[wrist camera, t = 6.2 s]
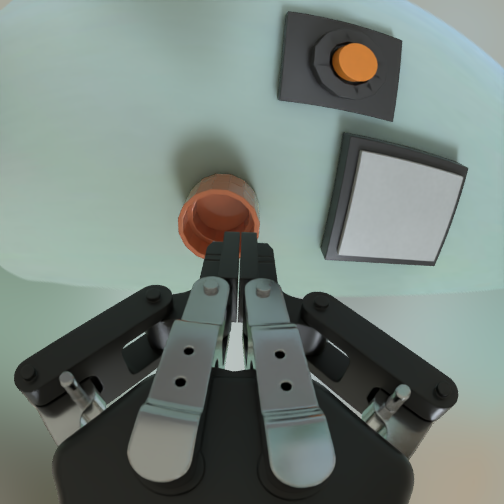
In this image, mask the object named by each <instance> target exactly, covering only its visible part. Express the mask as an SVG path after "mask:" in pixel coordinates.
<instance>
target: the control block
mask: <svg viewBox="0 0 504 504" xmlns="http://www.w3.org/2000/svg"><path fill="white" fill-rule="evenodd" d="M351 43H358V44H362V45H364V46H366V47H368V48H369V49H370V50H371V51H372V52H373V53H374V55H375V57H376V59H377V65H378V66H377V71H376V73H375V75H374V76H373V77H372V78H371V79H369V80H367V81H356V82H352V81H347V80H345V79H343V78H341V77H340V76H339V75H338V74H337V73H336V71H335V70H334V67H333V64H332V58H333V55H334V53H335V52H336V50H338V49H339V48H341V47H343V46H345V45H348V44H351ZM401 50H402V40H399V39H397V38H394V37H391V36H389V35H386V34H383V33H380V32H377V31H374V30H371V29H367V28H364V27H361V26H357V25H353V24H350V23H346V22H342V21H338V20H334V19H329V18H324V17H320V16H314V15H309V14H303V13H297V12H290V11H288V12H287V14H286V18H285V29H284V40H283V51H282V61H281V72H280V82H279V93H278V100H280V101H289V102H297V103H304V104H311V105H317V106H323V107H329V108H334V109H339V110H344V111H349V112H354V113H358V114H363V115H367V116H371V117H375V118H379V119H383V120H387V121H391V122H393V118H394V111H395V105H396V98H397V90H398V82H399V73H400V63H401Z"/></svg>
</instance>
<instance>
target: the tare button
mask: <svg viewBox="0 0 504 504" xmlns="http://www.w3.org/2000/svg"><path fill="white" fill-rule="evenodd" d="M332 64H333V67H334V70H335V71H336V73H337V74H338V75H339V76H340V77H341V78H343V79H345V80H347V81H352V82H356V81H367V80H369V79H371V78H372V77H373V76H374V75H375V73H376V71H377V66H378V65H377V59H376V57H375V55H374V53H373V52H372V51H371V50H370V49H369V48H368V47H366V46H364V45H362V44H358V43H351V44H348V45H345V46H343V47H341V48H339V49H338V50H336V52H335V53H334V55H333V58H332Z"/></svg>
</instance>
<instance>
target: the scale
mask: <svg viewBox="0 0 504 504" xmlns="http://www.w3.org/2000/svg"><path fill="white" fill-rule="evenodd" d="M467 171H468V168H467V167H465V166H463V165H462V164H460V163H458V162H455V161H452V160H449V159H446V158H443V157H440V156H437V155H434V154H430V153H427V152H424V151H420V150H417V149H413V148H410V147H406V146H402V145H399V144H395V143H391V142H387V141H383V140H378V139H374V138H369V137H365V136H360V135H355V134H350V133H345V132H344V133H343V139H342V145H341V151H340V157H339V163H338V168H337V174H336V179H335V185H334V190H333V195H332V200H331V205H330V210H329V214H328V219H327V224H326V228H325V233H324V237H323V242H322V246H321V251H322V253H323V256H324V258H325V260H339V261H356V262H373V263H390V264H407V265H424V266H435V263H436V261H437V259H438V256H439V254H440V252H441V249H442V247H443V244H444V242H445V239H446V236H447V234H448V231H449V228H450V226H451V223H452V220H453V217H454V214H455V211H456V208H457V205H458V202H459V199H460V196H461V193H462V189H463V186H464V182H465V179H466V175H467Z"/></svg>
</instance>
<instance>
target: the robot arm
mask: <svg viewBox="0 0 504 504" xmlns="http://www.w3.org/2000/svg"><path fill="white" fill-rule="evenodd" d="M239 246H240V232H229V231H225V232H224V238H223V242H219V241H213V242H212V243H211V244H210V245H209V246H208V247H207V249H206V254H205V258H204V262H203V267H202V271H201V276H200V279H199V280H197V281H196V282H195V283H194V285H193V287H192V290H190V291H187V292H184V293H179V294H173V295H172V292H171V291H170V289H168V288H167V287H165V286H162V285H151V286H147V287H145V288H143V289H141V290H140V291H138V292H136V293H134V294H133V295H131V296H129V297H128V298H126V299H124V300H123V301H121V302H119V303H118V304H116V305H114V306H113V307H111V308H109V309H107V310H106V311H104V312H103V313H101V314H99V315H97V316H96V317H94V318H92V319H91V320H89V321H87V322H86V323H84V324H82V325H81V326H79V327H77V328H76V329H74V330H73V331H71V332H69V333H68V334H66V335H65V336H63V337H61V338H60V339H58V340H56V341H55V342H53V343H51V344H50V345H48V346H47V347H45V348H43V349H42V350H40V351H39V352H37V353H35V354H34V355H32V356H31V357H29V358H27V359H26V360H25V361H23V362H22V363H21V364H20V365H19V366H18V367H17V369H16V371H15V374H14V381H15V385H16V386H17V388H18V389H19V390H20V391H21V392H22V393H23V394H24V395H25V397H26V398H27V399H28V401H29V402H30V403H31V404H32V405H33V406H34V407H35V408H36V409H37V410H38V412H39V414H40V416H41V418H42V420H43V422H44V424H45V426H46V427H47V429H48V431H49V433H50V435H51V436H52V438H53V439H54V441H55V443H56V445H57V446H58V448H57V450H56V452H55V455H54V457H53V461H52V474H53V478H54V482H55V486H56V489H57V494H58V499H59V504H408V503H409V500H410V497H411V494H412V491H413V486H414V473H413V469H412V466H411V464H410V462H409V459H410V458H411V456H412V455H413V454H414V452H415V451H416V449H417V448H418V446H419V445H420V443H421V442H422V440H423V439H424V437H425V435H426V434H427V432H428V431H429V429H430V427H431V426H432V424H433V423H435V422H436V421H437V420H438V419H439V418H440V417H441V416H443V415H444V414H445V413H446V412H447V411H448V410H449V409H450V408H451V407H452V406H453V405H454V404H455V403H456V402H457V399H458V390H457V387H456V385H455V383H454V382H453V381H452V379H450V378H449V377H448V376H446V375H445V374H443V373H442V372H440V371H439V370H438V369H436V368H435V367H433V366H432V365H430V364H429V363H428V362H426V361H425V360H423V359H422V358H421V357H419V356H418V355H416V354H415V353H414V352H412V351H411V350H409V349H408V348H406V347H405V346H403V345H402V344H401V343H399V342H398V341H396V340H395V339H393V338H392V337H390V336H389V335H388V334H386V333H385V332H383V331H382V330H380V329H379V328H378V327H376V326H375V325H373V324H372V323H370V322H369V321H368V320H366V319H365V318H363V317H362V316H360V315H359V314H357V313H356V312H354V311H353V310H352V309H350V308H348V307H347V306H346V305H344V304H343V303H341V302H340V301H338V300H337V299H336V298H334V297H333V296H331V295H329V294H327V293H323V292H312V293H309V294H307V295H306V296H305V297H304V298H303V299H299V298H295V297H292V296H289V295H287V294H285V293H284V292H283V291H282V289H281V287H280V285H279V284H278V282H277V275H276V268H275V260H274V253H273V249H272V248H271V247H270V246H269V244H268V243H257V233H255V232H241V254H240V279H239V307H238V322H243V334H242V340H243V351H244V363H245V370H242V371H233V372H232V371H229V370H225V362H226V355H227V350H228V343H229V333H230V331H231V322H236V319H237V295H238V272H239ZM144 332H145V333H146V334H145V335H143V336H142V337H140V338H139V339H137V340H136V341H134V342H133V343H131V344H130V345H128V346H127V347H125V348H124V349H123V347H124V346H125V345H126V344H127V343H129V342H130V341H132V340H133V339H135V338H136V337H137V336H139V335H140V334H142V333H144ZM328 340H329V341H330V342H332V343H333V344H334V345H335V346H337V347H338V348H339V349H341V350H342V351H343V352H344V353H346V354H347V356H348V357H347V356H346V355H344V354H343V353H342V352H341V351H339V350H338V349H337V348H335V347H334V346H333V345H331V344H330V343H329V342H328ZM156 368H157V371H156V374H153V375H151V376H149V377H147V378H146V379H144V380H143V381H141V382H140V383H139V384H138V385H136V386H135V387H134V388H132V389H131V390H130V391H129V392H127V393H126V394H125V395H124V396H123V397H121V398H120V399H118V400H117V401H116V402H114V403H113V404H112V405H111V406H109V407H108V408H107V409H106V405H107V404H108V403H110V402H111V401H113V400H114V399H115V398H117V397H118V396H120V395H121V394H122V393H124V392H125V391H126V390H128V389H129V388H131V387H132V386H133V385H135V384H136V383H138V382H139V381H140V380H142V379H143V378H144V377H146V376H147V375H148V374H150V373H151V372H152V371H154V370H155V369H156ZM310 372H311V373H312V374H314V375H315V376H316V377H317V378H318V379H319V380H321V381H322V382H323V383H324V384H325V385H327V386H328V387H329V388H330V389H331V390H333V391H334V392H335V393H336V394H337V395H339V396H340V397H341V398H342V399H343V400H345V401H346V402H347V403H349V404H350V405H351V406H352V407H353V408H355V409H356V410H357V411H359V412H360V413H361V414H362V419H360V418H359V417H358V416H357V415H356V414H355V413H354V412H353V411H351V410H350V409H349V408H348V407H347V406H346V405H344V404H343V403H342V402H341V401H340V400H339V399H338V398H337V397H335V396H334V395H333V394H332V393H331V392H330V391H329V390H327V389H326V388H325V387H324V386H323V385H321V384H320V383H318V382H316V381H314V380H313V379H311V375H310Z"/></svg>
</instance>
